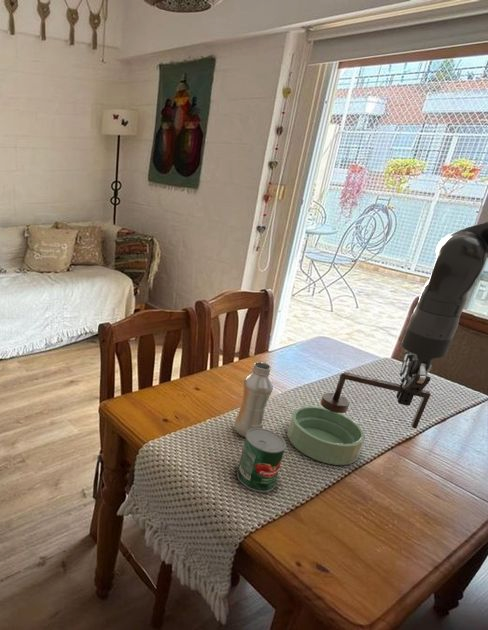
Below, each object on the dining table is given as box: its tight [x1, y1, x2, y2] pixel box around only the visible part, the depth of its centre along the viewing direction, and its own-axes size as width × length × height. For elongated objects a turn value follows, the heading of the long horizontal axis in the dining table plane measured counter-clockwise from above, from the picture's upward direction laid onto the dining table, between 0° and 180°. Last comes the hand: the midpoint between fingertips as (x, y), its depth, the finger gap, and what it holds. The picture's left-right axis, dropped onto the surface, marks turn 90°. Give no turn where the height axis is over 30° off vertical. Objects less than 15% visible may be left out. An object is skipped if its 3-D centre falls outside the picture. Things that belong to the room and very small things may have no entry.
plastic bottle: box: [234, 361, 274, 438], centre depth 108 cm, size 6×7×20 cm
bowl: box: [286, 405, 366, 466], centre depth 108 cm, size 16×16×6 cm
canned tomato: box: [236, 428, 287, 493], centre depth 95 cm, size 8×8×11 cm
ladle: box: [320, 371, 431, 429], centre depth 99 cm, size 19×6×9 cm, turn 62°
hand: (402, 401), depth 97 cm, fingers closed on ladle, 1 cm apart
